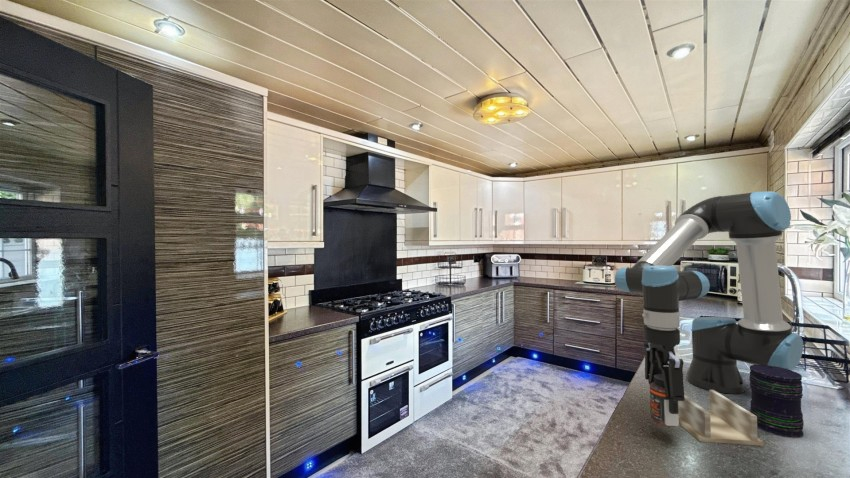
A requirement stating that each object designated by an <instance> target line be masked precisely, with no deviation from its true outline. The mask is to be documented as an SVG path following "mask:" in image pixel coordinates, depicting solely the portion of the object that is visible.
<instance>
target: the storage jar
mask: <svg viewBox="0 0 850 478" xmlns="http://www.w3.org/2000/svg"><path fill="white" fill-rule="evenodd" d="M748 377H749V378H748V379H749V387H750V389H751V393H750V394H751V400H750V406H749V409H750V410H749V412H751V413H752V414H754V415H756V416H757V429H760V430H762V431H764V432H765V433H769V434H772V435H776V436H779V437H783V438H789V439H790V438H792V439H799V438H800V439H801V438H803V436H804V432H803V430H804V421H805V420H804V414H803V412H802V399H803V396H804V394H803V388H804V387H803V381H802V379H803V376H802V374H800V373H799V372H797V371H794V370H788V369H784V368H780V367H775V366H769V365H753V364H750V365H749V375H748Z"/></svg>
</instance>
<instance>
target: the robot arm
mask: <svg viewBox="0 0 850 478" xmlns="http://www.w3.org/2000/svg"><path fill="white" fill-rule="evenodd" d="M791 220H792V214H791V210H790V207H789V204H788V202H787V200H786V199H785V198H784V197H783V196H782V194H780V193H779V192H776V191H772V190H771V191H753V192H746V193H739V194H736V193H735V194H730V195H729V194H727V195H719V196H713V197H710V198H706V199H704V200H702V201H700V202H698V203H696V204H694V205H692V206H691V207H689V208H688V209H686V210H685V211H683V212H682V213H681V214H680V215H679V216H678V217H677V218H676V219H675V221H674V225H673V226H672V227H671V229H669V231H667V232H666V234H664V235H663V236H662V237H661V238H660V239H659V240H658V241H657V242H656V243H655V244H654V245H652V247H651V248H650V249H649V250H648V251H647V252H645V254H644V255H642V257H641V258H640V259H639V260H637V261H636V262H635V264H634V265H633V266H632V267H629V266H627V267H621V268H618V270H616V272H615V274H614V285H616V287H617V289H619V290H620V291H622V292H626V293H631V294H638V295H642V302H643V303H642V309H643V311H642V312H643V313H641V316H642V317H643V324H644V326H643V338H644V340H645V341H646V342H645V343H643V349H644V379H645V380H646V381H647V380H648V381H647V382H648V385H649V386H650V384H651V383H652V382H654V375H656V374H662V376H663V381H664V387H665V392H666V397H663V398H664V410H665V424H666V425H667V426H666V427H668V426H675V427H679V426H680V424H679V416H678V401H684V400H685V397H684V395H685V386H684V385H685V384H684V371H683V368H684V367H683V366H684V359H682V358H678V357H677V356H676V351H675V346H678V345H680V343H681V335H680V334H681V332H680V330H679V327H680V326H681V325H680V308H679V307H680V305H679V304H680V301H681V302H682V301H683V302H684V301H689V300H697V299H699V298H703V297H704V296H706V295H707V294H708V293H709V291H710V287H711V286H710V280H709V279H708V277H707V276H706V275H705V274H704V273H702V272H700V271H697V270H688V269H687V270H678V268H677V267H676V266H674V264H675V263H676V262H677V261H678V260H680V258H681V257H682V256H683V255H684V254H685V253H686V252H687V251H688V250H690V248H691V247H692V246H693V245H694V244H695V243H696V242H697V241H698V240H701V239H703V238H705V237H707V235H709V234H712V233H718V232H719V233H728V238H729V239H730V240H731V241H732V242H734V243H735V244H736V253H737V254H736V255H737V263H738V272H739V273H738V275H739V281H740V282H739V283H740V292H741V300H742V301H741V302H742V312H743V317H742V318H741V319H739V320H738V322H737V321H736V319H735V318H734V317H733V318H732V317H725V316H700V317H696V318H694V319H693V320H692V324H691V330H690V331H691V344H692V345H691V348H692V349H691V350H692V358H691V359H692V360H691V362H690V363H689V366H688V370H687V372H686V380H687V382H689V383H690V384H692V385H694V386H695V387H698V388H701V389H705V390H707V391H709V390H715V391H716V392H718V393H720V394H729V395H730V394H731V395H732V394H734V395H735V394H742V393H744V392H745V382H744V379H743V378H742V375H741V373H740V371H739V368H738V364H737V361H739V362H743V363H747V364H749V365H769V366H775V367H780V368H784V369H788V370H791V371H794V369H796V367H797V366H798V364H799V363H800V360H801V358H802V355H803V352H804V351H803V350H804V341H803V338H802V336H801V335H800V334H797V333H795V332H793V333H792V325H791V323H788V322H787V321H785V320H784V317H783V307H782V297H781V296H782V294H781V286H780V276H779V265H778V256H777V246H776V244H777V243H776V241H777V240H778V239H779V238H781V237H782V236H783V231H784V230H787V229H789V227H790V226H791Z"/></svg>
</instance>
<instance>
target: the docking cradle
mask: <svg viewBox="0 0 850 478" xmlns="http://www.w3.org/2000/svg"><path fill="white" fill-rule="evenodd" d="M684 397H685V400H684V401H678V409H679V426H680V425H681V426H682V428H684V429H685V431H687V432H689V434H690V435H692V437H694V438H695V439H696V440H697V441H699V442H703V443H705V442H706V443H718V444H719V443H720V444H733V445H746V446H761V447H764V446H765V443H764V441H763V440H762V439H761V438H759V437H758V428H757V416H756V415H754V414H752V413H751V412H750V410H747V409H745V408H744V407H743V406H740V405H739V404H737V403H736V402H734V401H732V400H731V399H729V398H728V397H726V396H724V395H723V394H722V393H721V392H716V391H715V390H708V404H709V405H708V406H709V407H708V408H709V410H707V409H704V408H703V407H702V406H700V404H698V403H696V402H695V401H694V400H692V399H691V398H689V397H688V396H687V395H685V394H684Z"/></svg>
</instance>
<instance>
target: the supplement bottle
mask: <svg viewBox="0 0 850 478" xmlns="http://www.w3.org/2000/svg"><path fill="white" fill-rule="evenodd" d="M663 397H666V392H665V387H664V381H663V376H662V374H656V375H654V382H652V383H651V384H650V385H649V412H650V413H649V414H650V419H651V420H652V421H653V422H655V423H656V424H657V425H660V426H663V427H668V428H669V427H670V428H673V427H676V426H667V425H666V424H665V410H664V398H663ZM678 416H679V409H678Z"/></svg>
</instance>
